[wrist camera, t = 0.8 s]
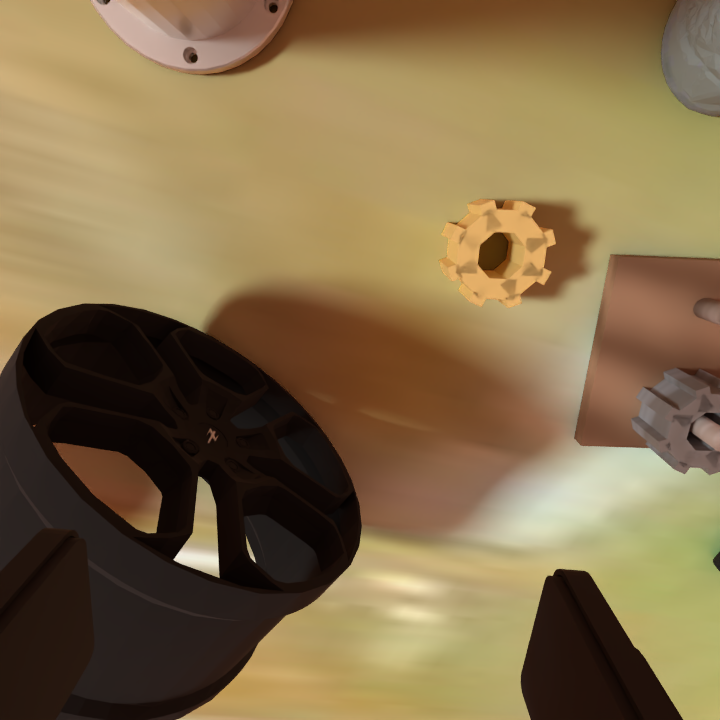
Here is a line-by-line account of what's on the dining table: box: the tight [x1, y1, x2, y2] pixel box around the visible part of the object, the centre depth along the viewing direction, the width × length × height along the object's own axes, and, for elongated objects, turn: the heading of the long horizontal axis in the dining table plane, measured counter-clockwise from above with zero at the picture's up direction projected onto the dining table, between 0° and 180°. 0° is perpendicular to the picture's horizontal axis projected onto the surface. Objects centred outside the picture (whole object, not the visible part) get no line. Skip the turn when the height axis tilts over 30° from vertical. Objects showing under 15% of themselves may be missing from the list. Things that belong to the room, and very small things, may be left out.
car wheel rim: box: [0, 304, 362, 720], centre depth 28 cm, size 20×10×20 cm, turn 50°
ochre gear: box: [439, 199, 556, 308], centre depth 32 cm, size 6×6×4 cm
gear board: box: [574, 255, 720, 475], centre depth 34 cm, size 14×13×6 cm
